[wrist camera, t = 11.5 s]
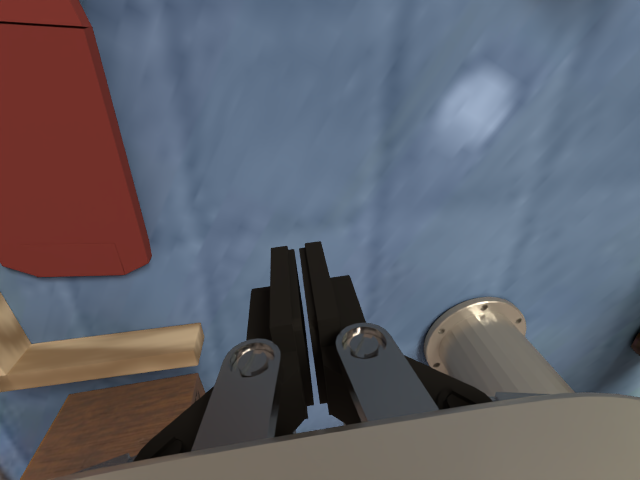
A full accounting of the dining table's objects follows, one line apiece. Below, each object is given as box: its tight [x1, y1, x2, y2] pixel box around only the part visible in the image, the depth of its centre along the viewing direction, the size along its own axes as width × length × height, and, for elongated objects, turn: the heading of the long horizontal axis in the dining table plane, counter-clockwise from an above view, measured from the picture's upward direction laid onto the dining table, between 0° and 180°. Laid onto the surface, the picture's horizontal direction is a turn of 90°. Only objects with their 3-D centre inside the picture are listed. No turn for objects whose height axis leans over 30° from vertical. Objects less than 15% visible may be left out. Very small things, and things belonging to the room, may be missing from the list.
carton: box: [0, 0, 152, 277], centre depth 27 cm, size 12×5×25 cm
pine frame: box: [0, 292, 204, 392], centre depth 28 cm, size 37×19×4 cm, turn 3°
